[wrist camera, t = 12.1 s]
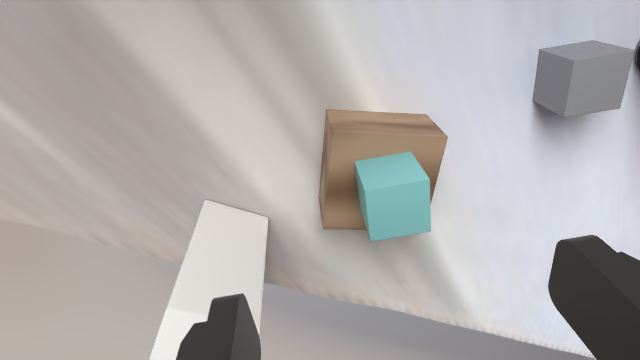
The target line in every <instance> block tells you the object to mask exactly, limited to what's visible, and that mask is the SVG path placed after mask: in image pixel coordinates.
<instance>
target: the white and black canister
mask: <svg viewBox="0 0 640 360" xmlns="http://www.w3.org/2000/svg"><path fill="white" fill-rule="evenodd" d="M636 60H637V66H638V69H639V70H640V44H639V47H638V50H637V57H636Z"/></svg>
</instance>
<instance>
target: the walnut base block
mask: <svg viewBox="0 0 640 360" xmlns="http://www.w3.org/2000/svg"><path fill="white" fill-rule="evenodd" d="M447 138H448V137H447V136H446V135H445V134H444V133H443V131H442V130H441V129H440V128H439V127H438V126H437V125H436V124H435V123H434V122H433V121H432V120H431V119H430V118H429V117H428V116H427V115H426V114H406V113H386V112H366V111H346V110H326V122H325V133H324V144H323V156H322V167H321V178H320V190H319V202H320V209H321V217H322V224H323V229H351V230H367V228H366V225H365V222H364V219H363V215H362V212H361V209H360V202H359V194H358V186H357V178H356V170H355V162H354V161H360V160H365V159H371V158H377V157H382V156H388V155H394V154H399V153H405V152H412V154H413V155H414V157H415V158H416V160H417V161H418V163H419V164H420V166H421V167H422V169H423V170H424V171H425V173H426V174H427V176H428V177H429V179H430V204H431V200H432V196H433V192H434V188H435V184H436V181H437V177H438V173H439V169H440V165H441V161H442V157H443V153H444V150H445V146H446V142H447Z"/></svg>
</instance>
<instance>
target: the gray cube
mask: <svg viewBox="0 0 640 360" xmlns="http://www.w3.org/2000/svg"><path fill="white" fill-rule="evenodd" d="M634 51H635V50H631V49H627V48H623V47H619V46H614V45H610V44H606V43H602V42H597V41H593V40H591V41H586V42H580V43H574V44H568V45H562V46H557V47H551V48H545V49H539V57H538V64H537V72H536V79H535V87H534V94H533V101H534V102H536V103H538V104H539V105H541V106H543V107H545V108H547V109H549V110H550V111H552V112H554V113H556V114H558V115H560V116H562V117H563V118H566V117H572V116H578V115H583V114H589V113H595V112H601V111H607V110H613V109H619V108H620V106H621V102H622V98H623V94H624V90H625V86H626V82H627V79H628V75H629V71H630V67H631V63H632V59H633V55H634Z"/></svg>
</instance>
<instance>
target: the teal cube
mask: <svg viewBox="0 0 640 360" xmlns="http://www.w3.org/2000/svg"><path fill="white" fill-rule="evenodd" d="M354 162H355V170H356V178H357V186H358V194H359V202H360V209H361V212H362V215H363V219H364V222H365V225H366V228H367V232H368V235H369V238H370V241H371V242H372V241H378V240H384V239H389V238H395V237H401V236H407V235H412V234H418V233H424V232H429V231H431V230H430V179H429V177H428V176H427V174H426V173H425V171H424V170H423V169H422V167H421V166H420V164H419V163H418V161H417V160H416V158H415V157H414V155H413V154H412V152H405V153H399V154H394V155H388V156H382V157H377V158H371V159H365V160H360V161H354Z"/></svg>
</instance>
